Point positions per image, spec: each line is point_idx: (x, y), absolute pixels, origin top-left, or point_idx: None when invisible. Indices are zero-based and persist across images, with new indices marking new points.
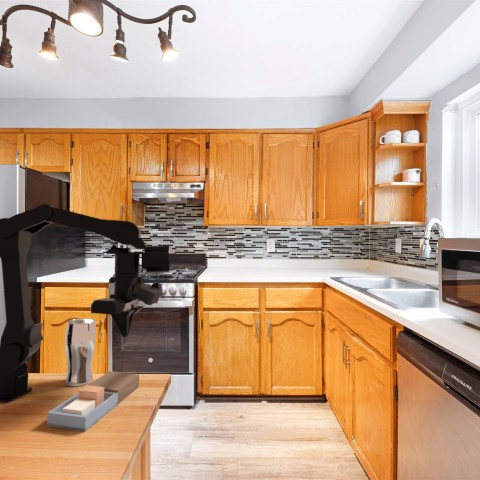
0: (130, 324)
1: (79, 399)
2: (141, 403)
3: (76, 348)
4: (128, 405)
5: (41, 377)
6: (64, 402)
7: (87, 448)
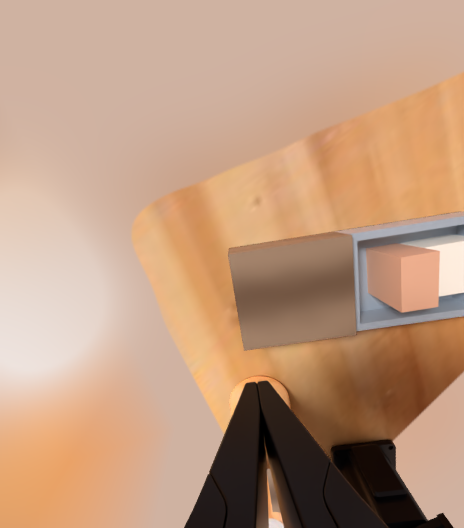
0: (248, 454)
1: None
2: (308, 178)
3: None
4: (328, 203)
5: None
6: (432, 318)
7: None
